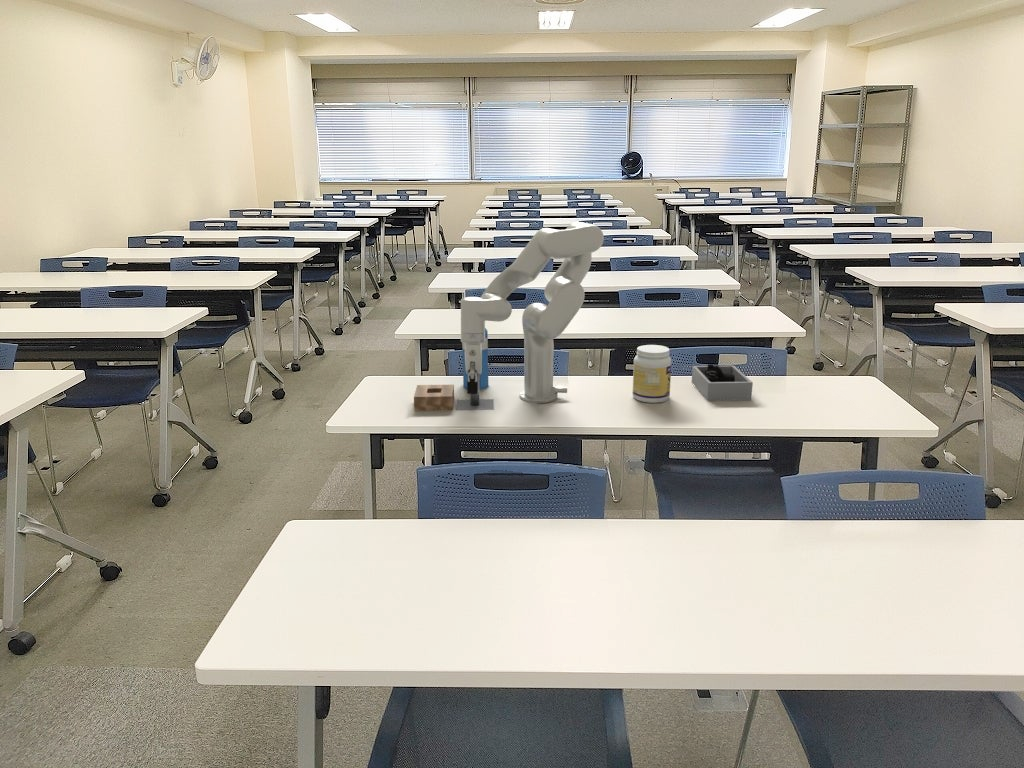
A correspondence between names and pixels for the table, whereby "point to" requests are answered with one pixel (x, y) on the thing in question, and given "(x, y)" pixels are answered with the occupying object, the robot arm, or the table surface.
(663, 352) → the supplement tub
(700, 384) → the tray
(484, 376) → the water bottle
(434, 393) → the socket block
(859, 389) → the table surface
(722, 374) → the film camera
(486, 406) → the mat
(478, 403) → the peg
